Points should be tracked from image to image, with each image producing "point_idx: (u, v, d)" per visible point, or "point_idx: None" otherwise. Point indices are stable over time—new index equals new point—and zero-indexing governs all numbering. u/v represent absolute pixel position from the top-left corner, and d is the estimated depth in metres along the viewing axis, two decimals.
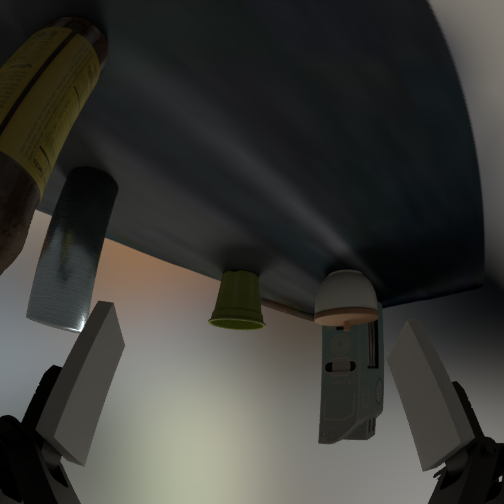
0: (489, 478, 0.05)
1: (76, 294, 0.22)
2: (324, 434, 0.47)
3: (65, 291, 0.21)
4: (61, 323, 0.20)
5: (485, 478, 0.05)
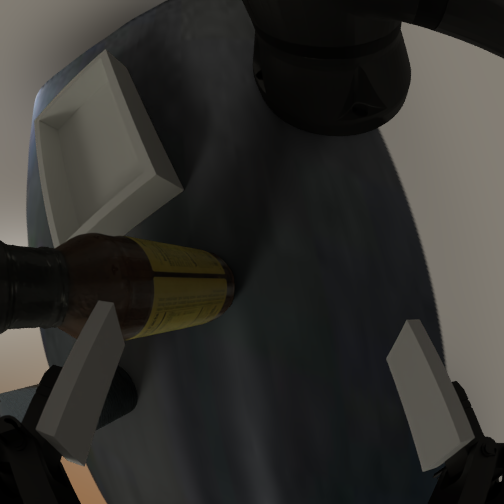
0: (489, 478, 0.05)
1: None
2: None
3: None
4: None
5: (485, 478, 0.05)
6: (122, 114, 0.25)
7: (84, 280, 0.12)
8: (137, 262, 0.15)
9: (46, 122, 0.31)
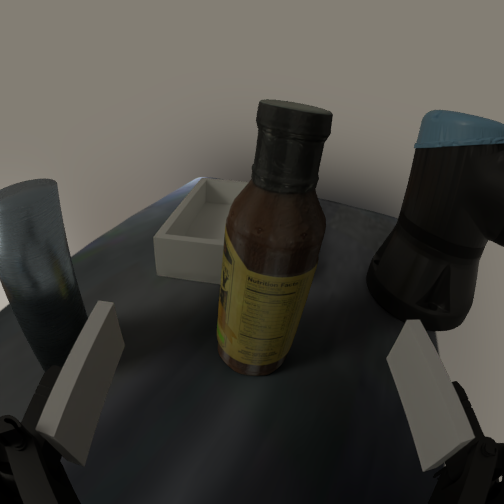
0: (489, 478, 0.05)
1: (36, 250, 0.15)
2: None
3: (49, 240, 0.16)
4: (39, 201, 0.14)
5: (485, 478, 0.05)
6: None
7: (316, 202, 0.17)
8: None
9: (207, 187, 0.50)
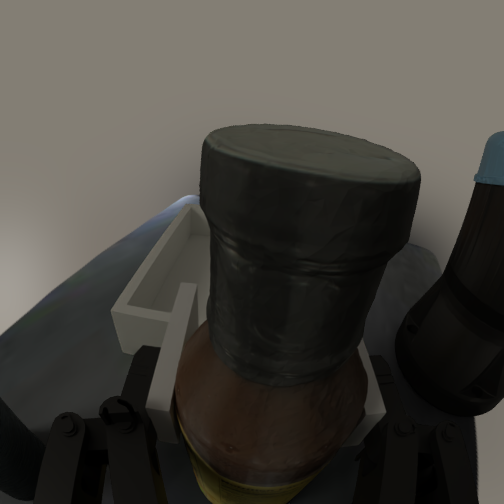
0: (414, 458, 0.07)
1: None
2: None
3: None
4: None
5: (409, 460, 0.07)
6: None
7: (356, 367, 0.07)
8: None
9: (192, 216, 0.40)
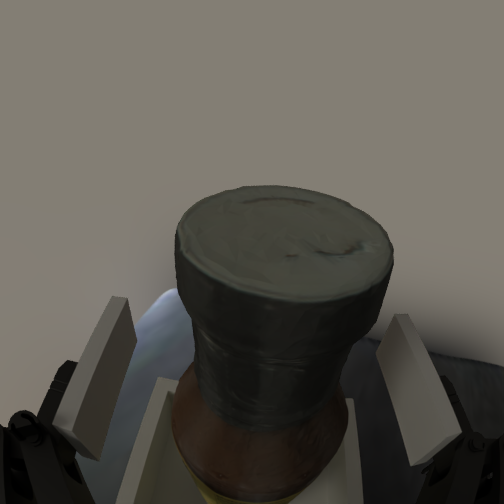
0: (478, 473, 0.06)
1: None
2: None
3: None
4: None
5: (474, 474, 0.06)
6: None
7: (334, 407, 0.08)
8: None
9: None
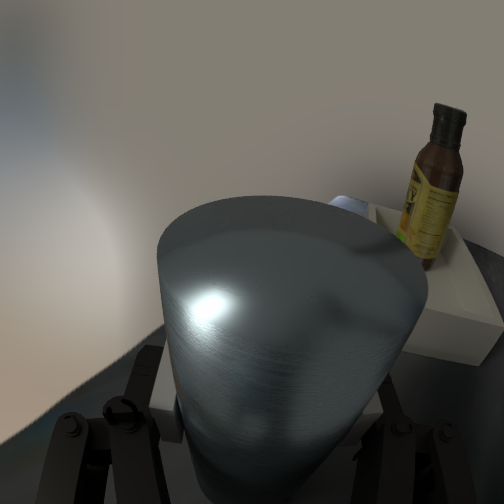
0: (411, 458, 0.07)
1: (363, 407, 0.06)
2: None
3: None
4: None
5: (406, 459, 0.07)
6: (476, 274, 0.26)
7: None
8: None
9: None
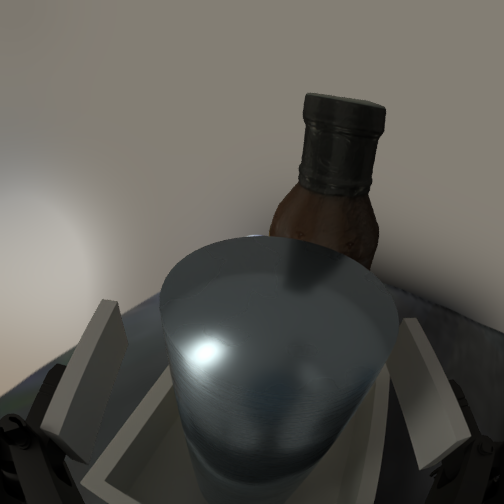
0: (486, 477, 0.05)
1: (341, 429, 0.07)
2: None
3: None
4: (395, 342, 0.06)
5: (482, 477, 0.05)
6: (371, 445, 0.13)
7: (369, 209, 0.14)
8: None
9: None
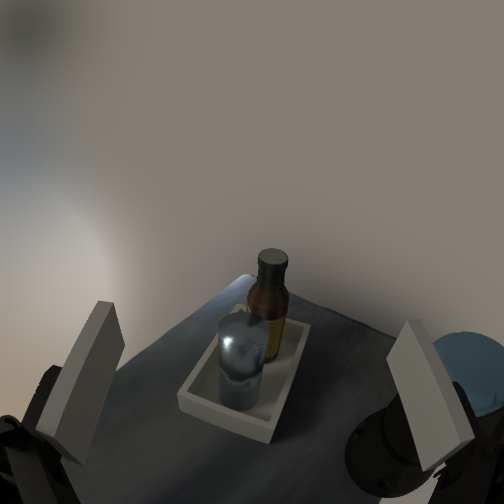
0: (489, 478, 0.05)
1: (258, 359, 0.35)
2: None
3: (264, 354, 0.35)
4: (265, 340, 0.34)
5: (485, 478, 0.05)
6: (286, 380, 0.41)
7: (282, 292, 0.42)
8: (286, 308, 0.44)
9: None
